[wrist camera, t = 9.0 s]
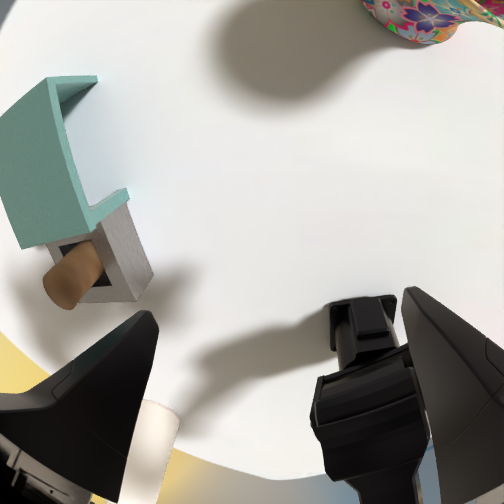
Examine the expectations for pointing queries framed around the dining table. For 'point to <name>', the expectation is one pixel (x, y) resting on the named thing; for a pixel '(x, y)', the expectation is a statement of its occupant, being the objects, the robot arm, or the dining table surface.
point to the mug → (433, 16)
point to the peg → (73, 275)
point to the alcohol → (148, 454)
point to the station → (65, 194)
